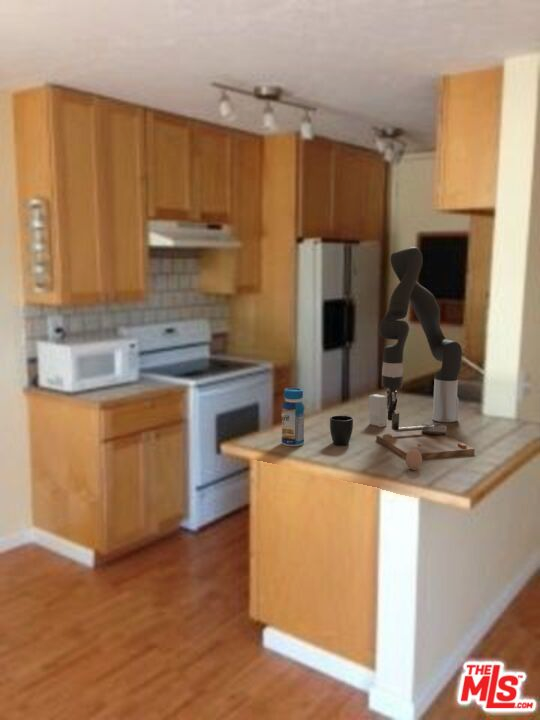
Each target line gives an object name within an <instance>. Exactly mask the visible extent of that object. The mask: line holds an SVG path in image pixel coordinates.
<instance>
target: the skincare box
mask: <svg viewBox="0 0 540 720" xmlns="http://www.w3.org/2000/svg"><path fill="white" fill-rule="evenodd" d="M368 404H369V411H368V412H369V415H368V417H369V421H368V423H369V425H372V426H376V427H379V428H383V427H386V426H387V425H388V419H387V417H388V410H387V403H386V395H382V394H377V393H375V394H369V402H368Z"/></svg>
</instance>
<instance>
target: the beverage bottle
mask: <svg viewBox="0 0 540 720" xmlns="http://www.w3.org/2000/svg"><path fill="white" fill-rule="evenodd" d="M303 396H304V390H303V388H300V387H287V388H284V390H283V398H284V402H283V403H282V405H281V410H282V411H281V415H280V416H281V444H282V445H284V446H286V447H300V446H303V445H304V443H305V418H306V413H305V403H304V402H303V401H302V400H303V398H304V397H303Z"/></svg>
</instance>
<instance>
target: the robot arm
mask: <svg viewBox="0 0 540 720" xmlns="http://www.w3.org/2000/svg"><path fill="white" fill-rule="evenodd" d="M423 259H424V258H423V254H422V251H421V250H420V249H419V247H416V246H411V247H406V248H405V249H400V250H397V251H394V252H392V253H391V255H390V265H391V267H392V269H393V272H394V274H395V275H396V277H397V279H398V280H399V283H398V285H397V286H396V287H395V289H394V290H393V292H392V294H391V296H390V300H389V305H388V309H387V311H386V313H385V315H384V317H383V319H382V320H381V322H380V325H379V329H378V333H379V335H380V337H381V338H382V339H384V340H397V342H396V343H395V344H391V345H386V346H385V347H383V358H382V359H383V360H382V367H381V369H382V370H381V387H383V388H385V389H387V390H386V391H385V396H386V403H387V421H391V422H392V413H393V412H396V410H397V404H398V395H399V392H397V389H401V388H403V378H404V367H403V366H404V365H403V361H404V348H405V346H406V345H405V344H406V341H407V338H408V335H409V332H410V326H409V323H408V322H407V321H405V320H403V319H405V318H406V317H407V316H408V311H409V305H410V304H411V307H412V309H413V311H414V314H415V315H416V317H417V319H418V321H419V324H420V325H421V327H422V330H423V333H424V334H425V337H426V340H427V343H428V346H429V349H430V352H431V354H432V356H433V358H434V359H435V360H436V361H439V362H441V368H440V369H439V370H436V371H435V372H434V380H433V381H434V385H433V405H432V407H433V408H432V421H435V422H437V423H454V422H458V420H459V407H460V406H459V404H460V402H459V401H460V398H459V397H458V383H459V375H460V373H461V368H462V367H461V366H462V359H463V358H462V357H463V350H462V346H461V344H460V343H459V342H458V341H455V340H450V339H447V338H446V337H445V334H443V331H442V329H441V324H440V322H441V310H440V306H439V304H438V302H437V300H436V297H435V296H434V294H433V293H432V292H431V291H430V290H429V289H427V288H425V287H424V286H422V285H421V284H420V282H418V281H417V280H418V277H419V275H420V272H421V270H422V267H423V261H424V260H423Z"/></svg>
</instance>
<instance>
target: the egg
mask: <svg viewBox="0 0 540 720" xmlns="http://www.w3.org/2000/svg"><path fill="white" fill-rule="evenodd" d="M405 463H406V464H405V465H406V466H407V468H408V469H409V470H412V471H416V470H419V469H420V468H421V466H422V463H423V459H422V456H421V454H420V452H419V451H418V450H416V449H412V450H410V451H409V452H408V454H407V456H406V459H405Z"/></svg>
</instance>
